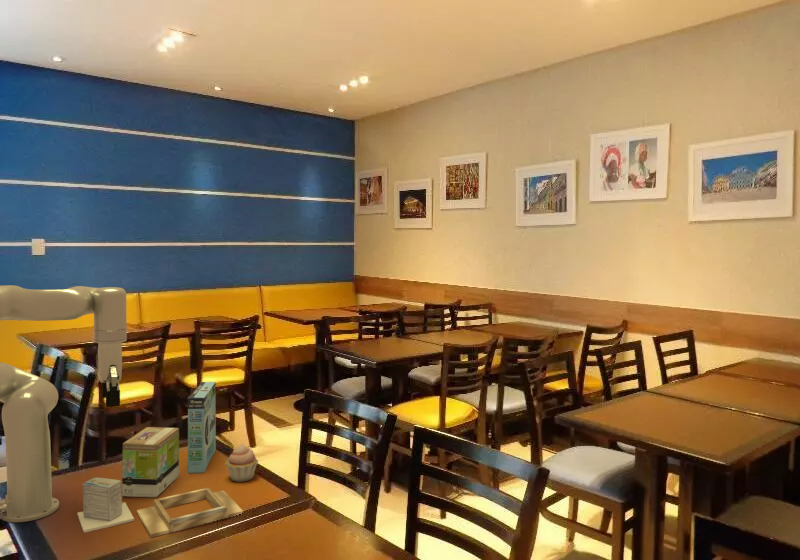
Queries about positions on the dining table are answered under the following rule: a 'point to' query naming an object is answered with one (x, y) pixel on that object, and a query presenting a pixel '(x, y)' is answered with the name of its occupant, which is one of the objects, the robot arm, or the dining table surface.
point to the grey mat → (96, 524)
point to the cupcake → (241, 464)
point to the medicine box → (102, 498)
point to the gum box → (201, 427)
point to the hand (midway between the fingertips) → (110, 401)
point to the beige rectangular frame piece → (162, 524)
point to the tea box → (150, 461)
